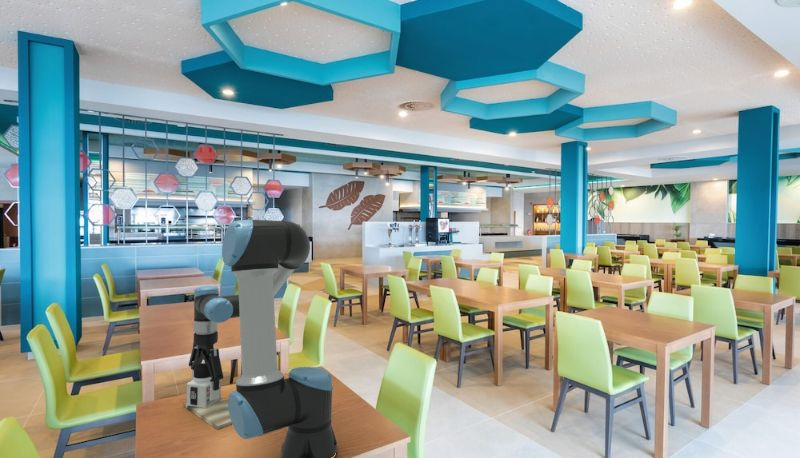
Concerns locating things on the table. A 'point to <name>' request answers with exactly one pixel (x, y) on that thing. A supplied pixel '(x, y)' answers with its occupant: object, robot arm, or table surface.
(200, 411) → the metal panel
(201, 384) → the container
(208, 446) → the table surface
